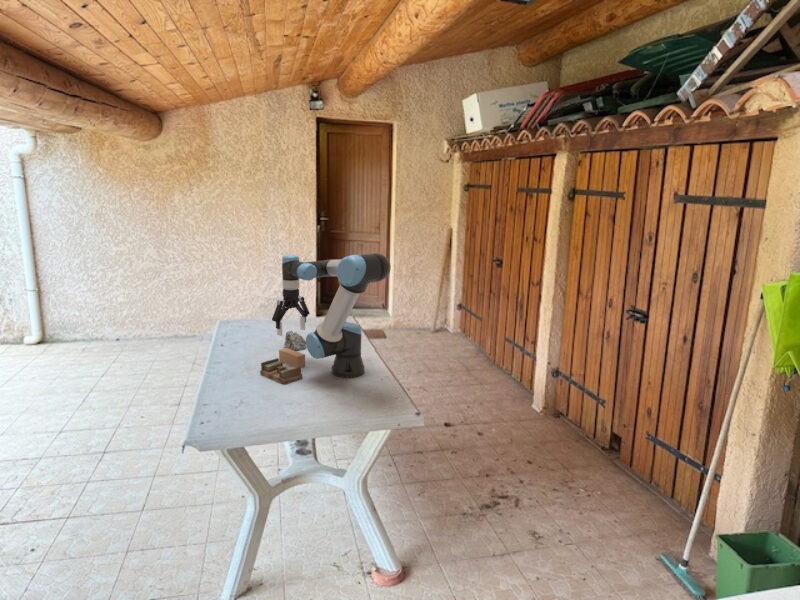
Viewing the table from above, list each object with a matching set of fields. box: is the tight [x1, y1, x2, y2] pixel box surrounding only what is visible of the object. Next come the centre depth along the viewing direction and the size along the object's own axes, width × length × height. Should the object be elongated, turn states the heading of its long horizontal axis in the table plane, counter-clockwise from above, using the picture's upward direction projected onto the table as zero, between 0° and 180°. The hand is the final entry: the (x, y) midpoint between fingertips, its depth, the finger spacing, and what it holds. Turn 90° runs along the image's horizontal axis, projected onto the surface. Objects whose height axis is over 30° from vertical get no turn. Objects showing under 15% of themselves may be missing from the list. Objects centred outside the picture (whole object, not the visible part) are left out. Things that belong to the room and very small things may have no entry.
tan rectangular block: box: [278, 347, 306, 368], centre depth 245 cm, size 14×4×6 cm, turn 50°
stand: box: [259, 357, 303, 386], centre depth 228 cm, size 17×10×6 cm, turn 50°
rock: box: [283, 330, 307, 351], centre depth 269 cm, size 13×10×10 cm
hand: (291, 332), depth 242 cm, fingers open, 13 cm apart
